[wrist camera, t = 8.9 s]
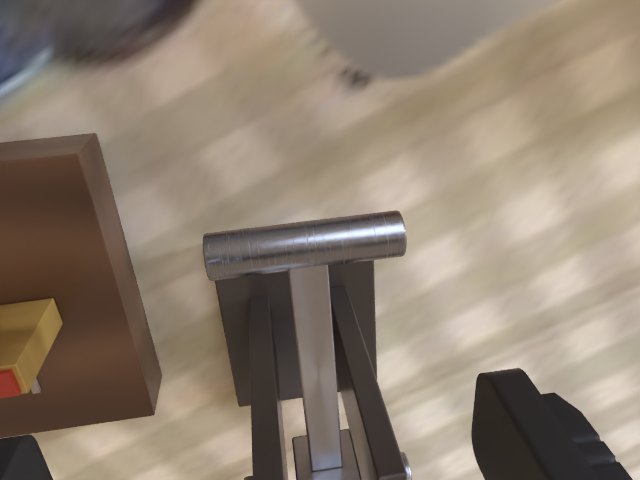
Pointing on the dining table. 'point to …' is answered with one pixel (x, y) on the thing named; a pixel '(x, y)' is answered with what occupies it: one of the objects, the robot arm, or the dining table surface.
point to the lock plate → (73, 288)
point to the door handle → (311, 312)
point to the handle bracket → (284, 375)
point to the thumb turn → (25, 342)
